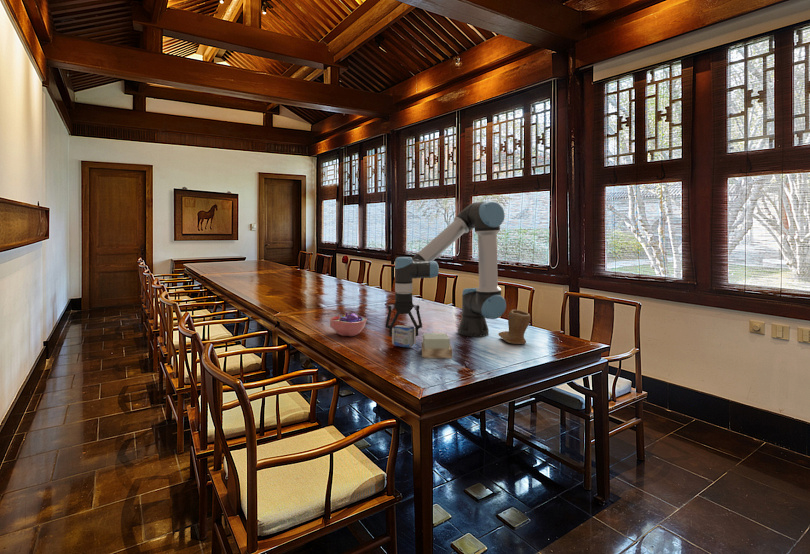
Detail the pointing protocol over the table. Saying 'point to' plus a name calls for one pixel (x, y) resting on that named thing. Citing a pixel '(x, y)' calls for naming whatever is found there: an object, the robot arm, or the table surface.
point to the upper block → (435, 341)
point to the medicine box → (403, 336)
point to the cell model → (348, 324)
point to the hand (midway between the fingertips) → (403, 343)
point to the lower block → (436, 352)
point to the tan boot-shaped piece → (516, 327)
